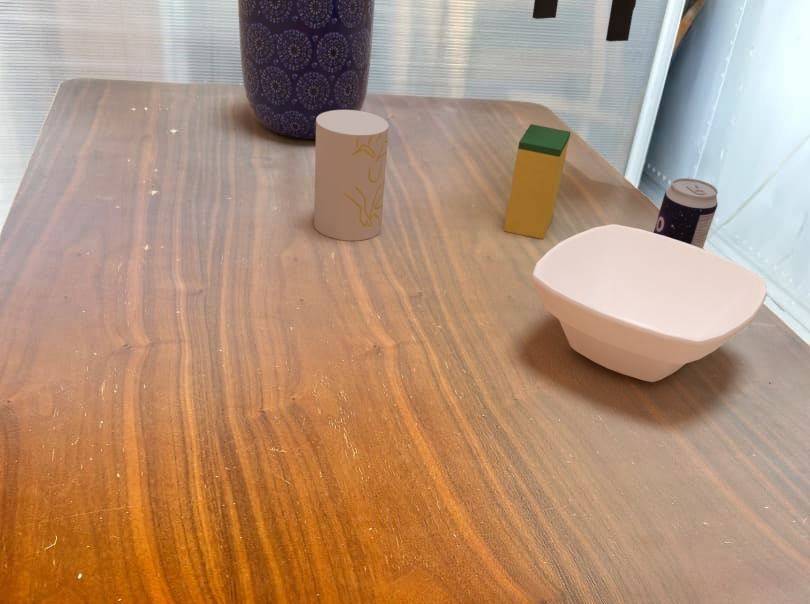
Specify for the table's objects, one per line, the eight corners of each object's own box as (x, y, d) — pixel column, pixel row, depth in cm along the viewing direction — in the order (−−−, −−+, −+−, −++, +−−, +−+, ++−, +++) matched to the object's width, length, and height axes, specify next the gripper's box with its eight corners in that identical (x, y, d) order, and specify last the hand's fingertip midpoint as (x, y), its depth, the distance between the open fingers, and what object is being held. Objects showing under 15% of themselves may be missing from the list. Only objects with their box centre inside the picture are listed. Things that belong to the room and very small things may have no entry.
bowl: (759, 354, 93) (790, 279, 87) (680, 439, 80) (711, 358, 74) (587, 286, 101) (605, 213, 95) (491, 353, 88) (505, 273, 82)
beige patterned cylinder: (356, 247, 103) (362, 140, 95) (300, 226, 106) (301, 121, 97) (393, 225, 108) (402, 122, 100) (339, 206, 111) (343, 104, 103)
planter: (310, 98, 140) (313, -56, 126) (392, 134, 132) (404, -26, 118) (216, 118, 130) (207, -47, 116) (298, 158, 121) (299, -15, 107)
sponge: (552, 218, 114) (570, 131, 107) (542, 239, 109) (561, 149, 102) (515, 210, 115) (530, 123, 108) (503, 230, 110) (519, 141, 103)
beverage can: (669, 277, 105) (701, 175, 96) (696, 300, 101) (732, 196, 93) (628, 281, 103) (658, 177, 95) (654, 304, 99) (687, 199, 91)
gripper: (653, -155, 103) (618, 49, 111) (512, -237, 87) (483, 9, 95) (710, -167, 98) (669, 48, 106) (571, -256, 82) (536, 4, 90)
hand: (581, 30), depth 101 cm, fingers open, 13 cm apart
